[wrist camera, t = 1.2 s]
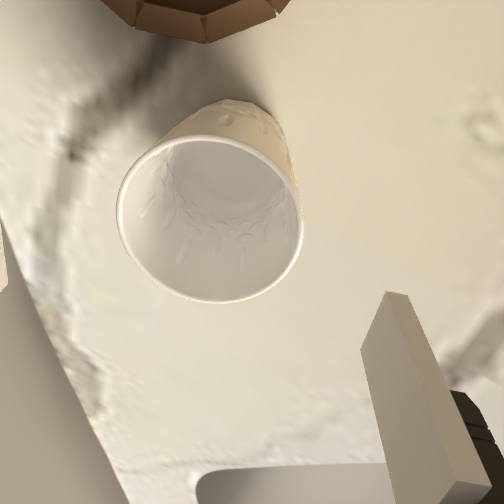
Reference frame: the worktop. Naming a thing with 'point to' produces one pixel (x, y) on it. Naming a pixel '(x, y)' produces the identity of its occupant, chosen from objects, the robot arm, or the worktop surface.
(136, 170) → the white cup
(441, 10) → the worktop surface
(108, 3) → the ring tray
